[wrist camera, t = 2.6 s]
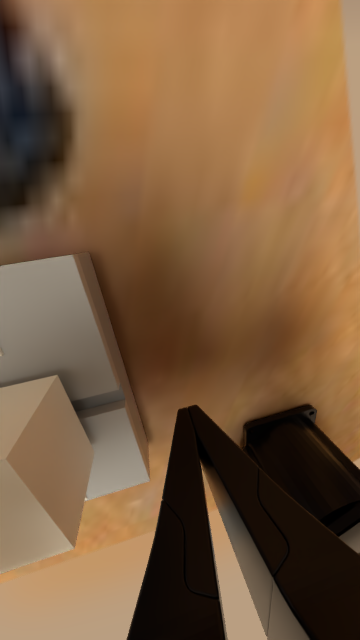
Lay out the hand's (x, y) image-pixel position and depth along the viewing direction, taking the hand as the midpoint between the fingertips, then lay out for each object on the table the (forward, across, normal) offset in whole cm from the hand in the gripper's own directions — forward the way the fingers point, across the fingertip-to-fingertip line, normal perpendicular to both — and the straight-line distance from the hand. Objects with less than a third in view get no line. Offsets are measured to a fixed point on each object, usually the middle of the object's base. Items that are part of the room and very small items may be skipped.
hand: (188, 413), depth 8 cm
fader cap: (+2, +7, 0) cm, 7 cm away
